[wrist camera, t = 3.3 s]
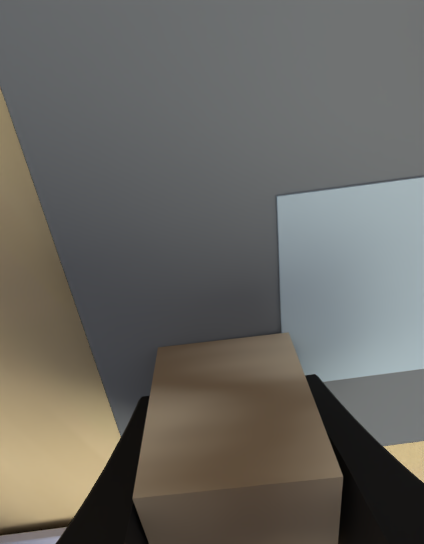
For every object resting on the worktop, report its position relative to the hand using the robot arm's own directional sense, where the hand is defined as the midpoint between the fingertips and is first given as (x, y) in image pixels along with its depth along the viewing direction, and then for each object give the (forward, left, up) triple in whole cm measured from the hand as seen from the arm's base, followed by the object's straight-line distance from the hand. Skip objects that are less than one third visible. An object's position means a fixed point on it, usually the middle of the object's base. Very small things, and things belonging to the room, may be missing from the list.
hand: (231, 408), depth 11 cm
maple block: (0, 0, -1) cm, 1 cm away
